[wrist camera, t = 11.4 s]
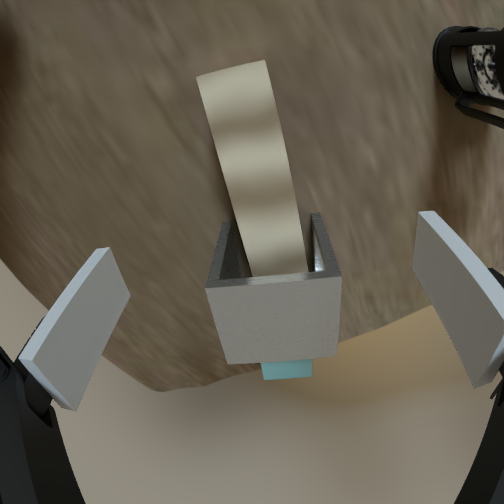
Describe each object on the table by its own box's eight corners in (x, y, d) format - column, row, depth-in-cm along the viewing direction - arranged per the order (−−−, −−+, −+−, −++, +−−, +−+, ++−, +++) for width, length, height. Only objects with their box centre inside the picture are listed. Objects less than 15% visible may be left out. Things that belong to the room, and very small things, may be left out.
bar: (304, 254, 37) (313, 303, 30) (263, 261, 38) (262, 311, 30) (264, 65, 26) (264, 59, 19) (215, 77, 27) (195, 77, 19)
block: (264, 329, 44) (263, 380, 36) (259, 298, 41) (258, 350, 33) (306, 326, 43) (312, 376, 36) (305, 294, 40) (312, 345, 33)
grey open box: (321, 283, 39) (336, 355, 29) (236, 291, 40) (227, 364, 30) (319, 212, 34) (341, 276, 24) (222, 222, 35) (204, 288, 25)
